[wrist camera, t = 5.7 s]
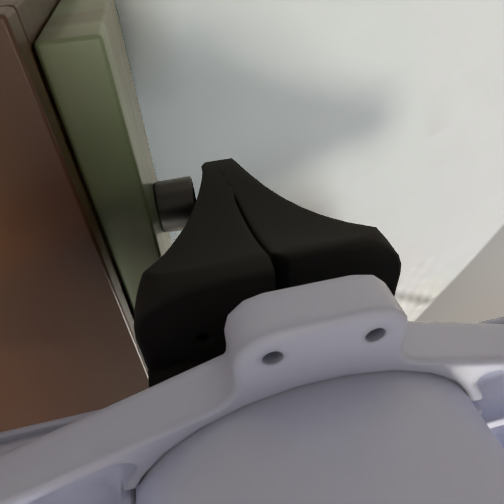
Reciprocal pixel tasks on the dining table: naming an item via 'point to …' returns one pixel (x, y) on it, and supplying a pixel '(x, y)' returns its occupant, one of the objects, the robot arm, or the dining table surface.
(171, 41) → the dining table surface
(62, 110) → the drawer
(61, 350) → the cabinet
